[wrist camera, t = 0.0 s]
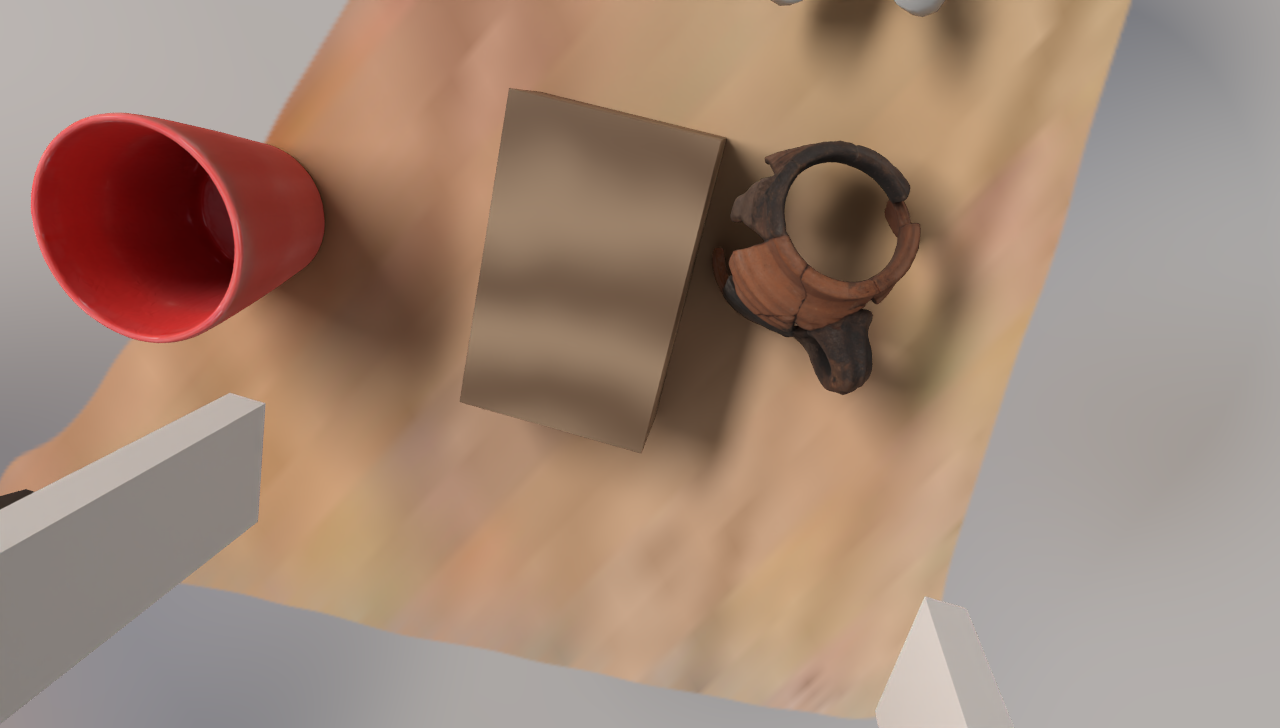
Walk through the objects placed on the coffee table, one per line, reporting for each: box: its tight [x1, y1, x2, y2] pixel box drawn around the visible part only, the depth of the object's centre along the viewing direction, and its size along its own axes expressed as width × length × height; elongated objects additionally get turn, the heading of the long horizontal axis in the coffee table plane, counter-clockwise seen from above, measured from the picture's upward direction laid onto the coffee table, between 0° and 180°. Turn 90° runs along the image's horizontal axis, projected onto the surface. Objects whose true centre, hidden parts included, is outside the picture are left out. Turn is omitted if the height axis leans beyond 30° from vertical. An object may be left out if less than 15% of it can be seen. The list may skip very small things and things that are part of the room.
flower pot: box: [31, 113, 325, 343], centre depth 39 cm, size 11×11×10 cm
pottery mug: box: [712, 141, 921, 395], centre depth 37 cm, size 12×10×8 cm
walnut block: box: [460, 88, 727, 453], centre depth 39 cm, size 16×10×5 cm, turn 167°
